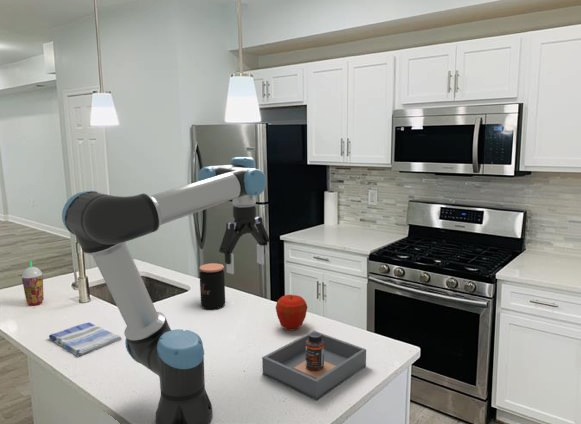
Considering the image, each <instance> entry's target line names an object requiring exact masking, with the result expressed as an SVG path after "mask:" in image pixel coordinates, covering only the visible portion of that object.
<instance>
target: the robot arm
mask: <svg viewBox="0 0 581 424" xmlns="http://www.w3.org/2000/svg"><path fill="white" fill-rule="evenodd" d="M197 176H198V177H197V178H198V180H197V181H195V182H192V183H188V184H185V185H181V186H178V187H175V188H171V189H169V190H165V191H162V192H158V193H155V194H154V193H153V194H151V195H149V194H147V193H141V194H140V193H139V194H136V195H130V196H117V195H111V194H105V193H101V192H99V191H96V190H90V191H89V190H86V191H81V192H77V193H76V194H73V195H72V196H71V197H70V198H68V200H66V202H65V204H64V206H63V208H62V211H61V212H62V213H61V220H62V223H63V225H64V227H65V228H66V229H67V231H68V232H69V233H71V234H72V235H74V236H75V239H76V240H77V242H78V244H79V246H80V248H81V250H82V252H83V253H84V254H87V255H90V256H92V258H93V260H94V262H95V264H96V266H97V267H98V270H99V272H100V275H101V276H102V278H103V280H104V282H105V284H106V286H107V288H108V290H109V292H110V295H111V296H112V299H113V300H114V302H115V303H114V304H115V305H116V307H117V309H118V311H119V313H120V315H121V317H122V319H123V321H124V323H125V325H126V327H125V329H124V333H123V334H124V337H125V349H126V352H127V353H128V355H129V356H130V357H131V358H132V359H133V360H134V361H135V362H136V363H138V364H141V365H142V366H144V367H145V368H146V369H148V370H150V371H151V372H152V373H153V374H155V375H157V376H158V378H159V386H160V387H159V388H160V396H159V400H158V403H157V407H156V411H155V414H154V415H155V416H154V417H155V418H154V420H155V424H210V422H212V420H213V412H214V411H213V404H212V402H211V400H210V397H209V395H208V393H207V390H206V384H205V383H206V381H205V356H204V355H205V349H204V344H203V340H202V338H201V337H200V335H199V334H198V333H196V332H195V331H192V330H188V329H185V330H183V329H179V328H178V329H171V327H170V325H169V323H168V320H167V317H166V316H165V314H164V313H163V312H160V311H157V309H156V308H155V306H154V302H153V300H152V298H151V296H150V294H149V292H148V290H147V288H146V285H145V282H144V280H143V278H142V276H141V273H140V272H139V269H138V267H137V264H136V263H135V261H134V258H133V256H132V254H131V251H130V249H129V246H128V245H127V242H130V241H132V240H135V239H138V238H141V237H143V236H146V235H149V234H152V233H155V232H158V230H159V229H160V226H161V225H164V224H167V223H170V222H173V221H176V220H179V219H181V218H184V217H188V216H190V215H193V214H196V213H199V212H201V211H204V210H208V209H210V208H213V207H215V206H218V205H221V204H223V203H226V202H227V203H228V202H229V201H232V205H233V206H232V217H233V218H234V221H233V222H228V221H227V222H226V223H225V224H226V225H225V226H226V227H225V228H226V229H225V232H224V235H223V237H222V240H221V243H220V244H221V245H220V246H219V250H218V252H219V253H221V254H224V263H225V265H226V273H227V274H230V275H234V274H235V261H234V260H235V259H234V258H235V257H234V256H235V255H234V253H233V252H234V249H235V247H236V245H237V244H238V241H239V240H240V238H241V237H242V236H244V235H246V234H251V236H252V238H254V239H255V240H256V242H257V244H256V263H257V264H259V265H262V266H263V265H265V253H266V246H267V245H268V243H270V238H269V235H268V233H267V230H266V228H265V226H264V223H263V217H261V216H257V206H256V203H257V201H256V200H257V196H259V195H261V194H262V193H263V192H264V191H265V189H266V188H267V187H266V186H267V177H266V174H265V173H264V171H262V170H261V169H258V168H256V162H255V159H254V158H253V157H251V156H238V157H237V156H235V157H232V158H231V162H230V164H224V165H223V164H222V165H209V166H204V167H202V168H200V170H199V173H198V175H197Z"/></svg>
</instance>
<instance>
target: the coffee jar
mask: <svg viewBox="0 0 581 424" xmlns="http://www.w3.org/2000/svg"><path fill="white" fill-rule="evenodd" d="M198 268H199V290H200V293H199V294H200V306H201V307H202V309H205V310H208V311H209V310H211V311H213V310H219V309H221V308H223V307H224V306H225V304H226V286H225V285H226V281H225V271H224V269H225V266H224V265H223V264H221V263H215V262H213V263H212V262H211V263H210V262H209V263H205V264H202V265H200V266H199V267H198Z"/></svg>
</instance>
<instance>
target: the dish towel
mask: <svg viewBox="0 0 581 424" xmlns="http://www.w3.org/2000/svg"><path fill="white" fill-rule="evenodd" d="M48 338H49V339H50V340H51V341H53V342H55V343H56V344H57V345H58V346H60V347H62V348H63V349H64V350H65V351H68V352H69V353H71V354H73V355H75V356H76V357H81V356H85V355H88V354H90V353H92V352H95V351H98V350H99V349H103V348H105V347H107V346H111V345H113V344H115V342H116V343H118V342H120V341H122V340H123V339H122V336H121V335H118V334H115V333H113V332H111V331H109V330H107V329H104V328H102V327H100V326H97V325H95V324H93V322H92V323H91V322H86V323H82V324H78V325H75V326H73V327H69V328H66V329H64V330H61V331H59V332H55V333H50V334H49V335H48Z"/></svg>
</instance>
